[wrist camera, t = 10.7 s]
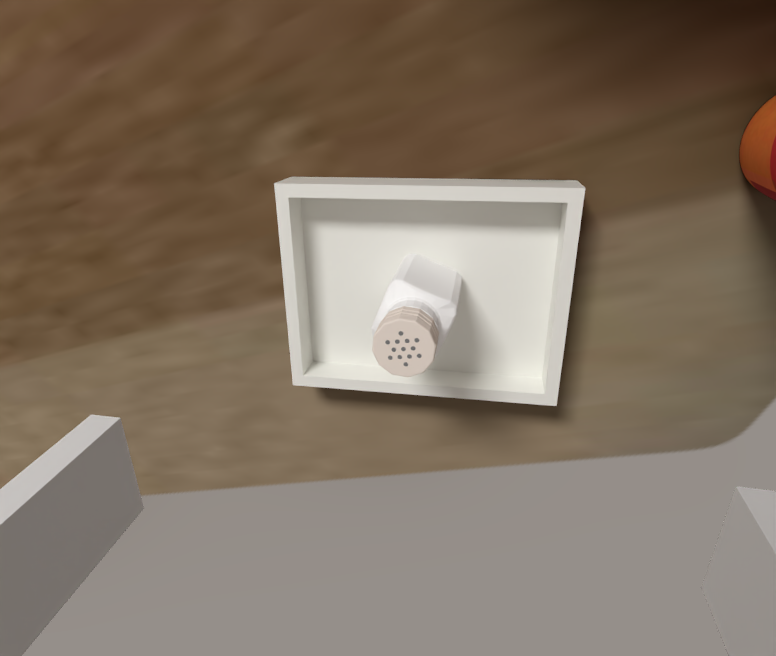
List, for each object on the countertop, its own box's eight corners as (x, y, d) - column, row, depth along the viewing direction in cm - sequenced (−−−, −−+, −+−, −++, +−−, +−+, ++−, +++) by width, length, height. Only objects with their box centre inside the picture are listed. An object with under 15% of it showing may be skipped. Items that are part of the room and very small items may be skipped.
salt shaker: (386, 301, 36) (352, 365, 27) (408, 247, 34) (380, 297, 25) (441, 324, 36) (425, 397, 27) (466, 272, 34) (457, 331, 25)
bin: (291, 176, 34) (274, 183, 31) (577, 180, 31) (585, 188, 29) (306, 365, 40) (292, 385, 37) (551, 383, 37) (556, 406, 34)
